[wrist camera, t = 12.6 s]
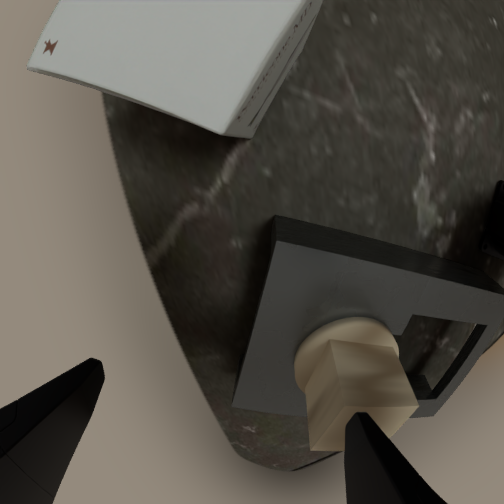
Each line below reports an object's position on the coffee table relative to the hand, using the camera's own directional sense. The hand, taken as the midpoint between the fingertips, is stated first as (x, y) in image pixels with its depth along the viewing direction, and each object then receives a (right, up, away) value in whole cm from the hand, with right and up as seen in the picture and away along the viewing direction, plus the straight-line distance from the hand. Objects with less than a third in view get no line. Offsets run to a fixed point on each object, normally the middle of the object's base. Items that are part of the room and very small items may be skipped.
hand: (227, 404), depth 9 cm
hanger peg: (+7, 0, +13) cm, 15 cm away
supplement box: (-1, +17, +7) cm, 18 cm away
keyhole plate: (+11, -1, +14) cm, 17 cm away
